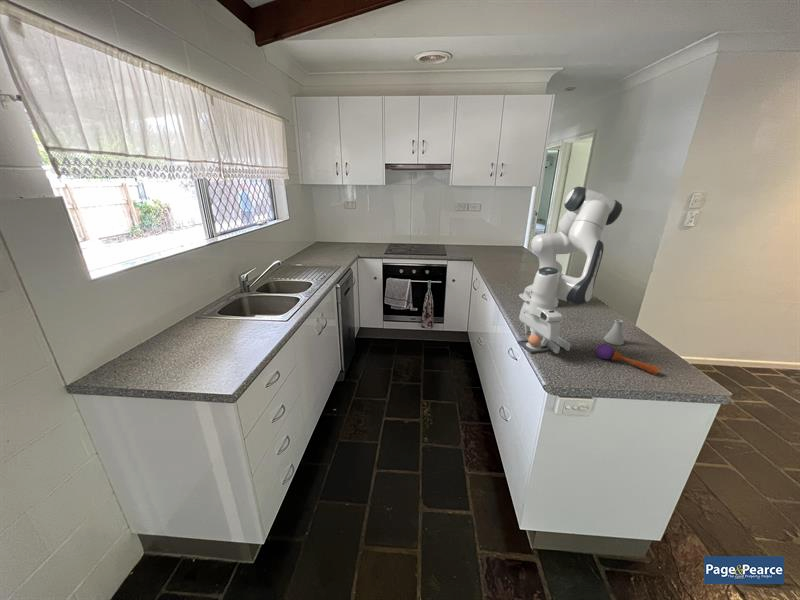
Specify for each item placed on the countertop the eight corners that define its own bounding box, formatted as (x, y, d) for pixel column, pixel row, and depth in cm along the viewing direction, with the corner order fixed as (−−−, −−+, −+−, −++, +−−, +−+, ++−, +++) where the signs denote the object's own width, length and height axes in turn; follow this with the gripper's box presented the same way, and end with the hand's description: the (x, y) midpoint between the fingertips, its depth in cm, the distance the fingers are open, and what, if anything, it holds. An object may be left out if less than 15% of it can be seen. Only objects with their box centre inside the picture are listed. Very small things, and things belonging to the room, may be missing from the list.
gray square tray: (517, 342, 136) (517, 340, 136) (535, 340, 139) (536, 338, 138) (531, 353, 128) (531, 351, 128) (550, 351, 130) (550, 348, 130)
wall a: (538, 331, 147) (539, 325, 146) (540, 331, 147) (541, 325, 146) (567, 350, 131) (569, 344, 130) (569, 350, 131) (570, 344, 130)
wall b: (528, 333, 145) (529, 327, 144) (530, 333, 145) (531, 327, 144) (556, 353, 128) (558, 347, 127) (558, 353, 129) (559, 346, 128)
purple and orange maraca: (659, 370, 112) (596, 346, 124) (652, 382, 115) (591, 358, 127) (662, 360, 116) (600, 338, 128) (656, 372, 119) (596, 350, 131)
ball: (524, 343, 135) (526, 332, 133) (535, 341, 136) (537, 331, 134) (532, 349, 130) (534, 338, 128) (542, 347, 132) (545, 337, 130)
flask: (613, 346, 135) (619, 325, 131) (599, 338, 142) (605, 318, 138) (627, 344, 137) (633, 323, 133) (612, 337, 143) (618, 316, 140)
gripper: (518, 299, 136) (513, 329, 141) (551, 319, 117) (544, 352, 122) (531, 298, 137) (525, 327, 142) (566, 318, 119) (558, 350, 124)
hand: (534, 339), depth 132 cm, fingers open, 8 cm apart
